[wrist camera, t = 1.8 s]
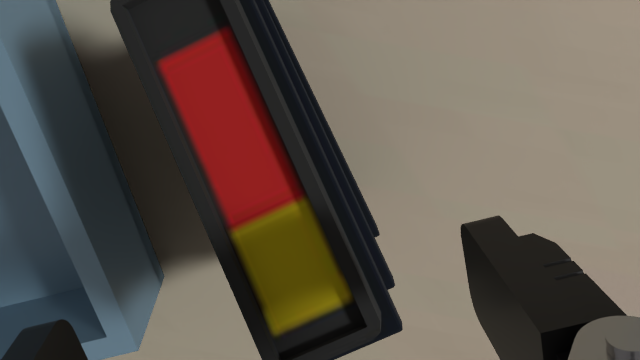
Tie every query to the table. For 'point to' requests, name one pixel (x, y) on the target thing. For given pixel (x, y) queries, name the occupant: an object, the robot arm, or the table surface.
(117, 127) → the table surface
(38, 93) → the bin
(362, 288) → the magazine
